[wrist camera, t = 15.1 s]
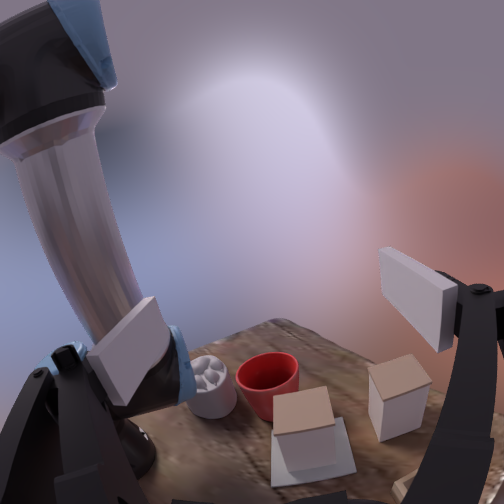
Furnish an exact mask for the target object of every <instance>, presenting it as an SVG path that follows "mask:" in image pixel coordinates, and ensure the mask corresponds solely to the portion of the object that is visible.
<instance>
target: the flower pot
mask: <svg viewBox="0 0 504 504" xmlns="http://www.w3.org/2000/svg"><path fill="white" fill-rule="evenodd" d="M236 381H237V383H238V385H239V387H240V389H241V390H242V392H243V394H244V395H245V397H246V399H247V400H248V402H249V403H250V405H251V406H252V408H253V409H254V411H255V412H256V413H257V415H258V416H259V417H260V418H261V419H263V420H266V421H270V422H273V396H275V395H282V394H288V393H293V392H298V388H299V364H298V361H297V360H296V358H295V357H293V356H292V355H290V354H287V353H283V352H270V353H264V354H260V355H257V356H255V357H253V358H251V359H249V360H247V361H246V362H244V363H243V364H242V365H241V366H240V367H239V369H238V371H237V373H236Z"/></svg>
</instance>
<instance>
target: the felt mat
mask: <svg viewBox="0 0 504 504" xmlns="http://www.w3.org/2000/svg"><path fill="white" fill-rule="evenodd" d="M334 420H335V426H334V436H335V450H336V464H332V465H327V466H322V467H317V468H311V469H305V470H299V471H292V472H288V471H287V468H286V465H285V462H284V459H283V456H282V453H281V450H280V447H279V444H278V441H277V438H276V437H274V435H273V430H272V451H271V487H281V486H290V485H297V484H304V483H310V482H316V481H321V480H327V479H331V478H336V477H340V476H345V475H349V474H353V473H357V471H356V467H355V463H354V459H353V455H352V451H351V447H350V443H349V439H348V436H347V432H346V428H345V425H344V421H343V417H339V418H335V419H334Z"/></svg>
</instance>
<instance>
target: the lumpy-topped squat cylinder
mask: <svg viewBox="0 0 504 504" xmlns="http://www.w3.org/2000/svg"><path fill="white" fill-rule="evenodd" d="M190 364H191V365H192V368H193V372H194V375H195V379H196V384H197V393H196V395H195V396H194V397H193V398H192V399H190V400H187V401H186V403H187V405H188V407H189V409H190V410H191V411H192V413H193V414H195V415H197V416H200V417H203V418H207V419H217V418H222V417H224V416H226V415H228V414H229V413H230V412H231V411H232V410H233V409H234V407H235V405H236V402H237V393H236V391H235V388H234V385H233V383H232V380H231V377H230V374H229V372H228V369H227V367H226V366H225V365H224V364H223V362H221V361H220V360H219V359H218V358H216V357H215V356H211V355H208V356H201V357H198V358H197V359H195V360H193V361H190Z"/></svg>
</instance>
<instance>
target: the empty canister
mask: <svg viewBox="0 0 504 504" xmlns="http://www.w3.org/2000/svg"><path fill="white" fill-rule="evenodd" d="M368 372H369V416H370V418H371V421H372V423H373V426H374V429H375V431H376V434H377V437H378V440H379V442H382V441H385V440H388V439H391V438H394V437H396V436H399V435H402V434H405V433H407V432H410V431H412V430H415V429H417V428H420V426H421V423H422V419H423V415H424V410H425V406H426V401H427V397H428V392H429V387H430V384H432V380H431V379H430V378H429V376H428V375H427V373H426V372H425V371H424V369H423V368H422V367H421V365H420V364H419V363H418V361H417V360H416V359H415V358H414V356H413V355H412V354H408V355H405V356H403V357H400V358H397V359H394V360H391V361H388V362H384V363H381V364H378V365H375V366H371V367H368Z"/></svg>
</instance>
